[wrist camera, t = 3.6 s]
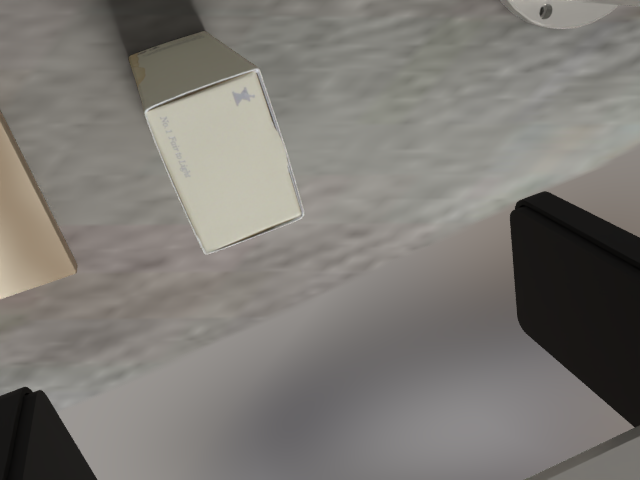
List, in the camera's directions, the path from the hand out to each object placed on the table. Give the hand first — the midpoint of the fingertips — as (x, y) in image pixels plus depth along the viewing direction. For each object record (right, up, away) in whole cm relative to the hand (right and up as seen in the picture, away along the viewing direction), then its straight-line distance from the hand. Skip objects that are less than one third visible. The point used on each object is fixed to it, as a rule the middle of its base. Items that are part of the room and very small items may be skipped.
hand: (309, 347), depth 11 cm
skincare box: (-7, +10, +20) cm, 24 cm away
